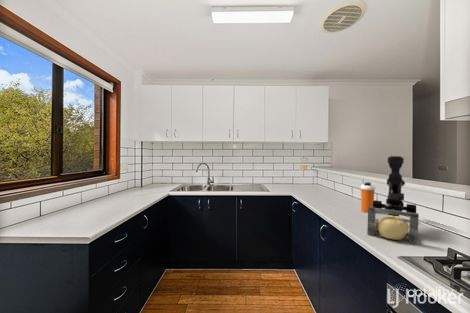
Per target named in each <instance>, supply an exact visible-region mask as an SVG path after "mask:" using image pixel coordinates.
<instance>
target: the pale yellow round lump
mask: <svg viewBox="0 0 470 313" xmlns="http://www.w3.org/2000/svg"><path fill="white" fill-rule="evenodd" d="M409 226H410V224H408V223H407V222H406V221H405V220H403V219H402V218H401V217H400V216H399V217H398V216H391V215H389V216H388V215H387V216H383V217H382V218H380V219H379V222H378V228H377V231H378V232H379V234H380V236H381V237H383V238H386V239H388V240H396V241H401V240H403V239H404V238H405V237H406V235H407V234H408V233H409Z"/></svg>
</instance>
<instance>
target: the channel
mask: <svg viewBox="0 0 470 313" xmlns="http://www.w3.org/2000/svg"><path fill="white" fill-rule="evenodd" d="M376 213H383V214H387V215H388V214H395V215H399V216H403V217H409V228H408V233H409V234H408V235H409V237H408V238H409V239H408V242H409V243H410V244H413V245H418V239H419V238H418V236H419V213H417V212H416V213H411V212H406V211H404V210H402V211H395V210H388V209H385V208H382V209H380V208H373V207H368V213H367V230H366V231H367V232H366V233H367V234H366V235H367V236H371V237H374V236H375V235H376V233H377V231H378V223H379V221H380V219H378V218H376Z"/></svg>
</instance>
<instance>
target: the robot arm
mask: <svg viewBox="0 0 470 313" xmlns="http://www.w3.org/2000/svg"><path fill="white" fill-rule="evenodd" d="M404 160H405V158H404V157H402V156H401V155H400V156H399V155H396V156H395V155H390V156H388V157H387V164H388V166H389V169H390V170H391V173H389V174H388V178H387V179H386V185H387V186H388V193H387V194H388V195H387V198H386V199H385V204H384V203H382V200H376V199H374V201H373V208H380V209H388V210H395V211H404V212H411V213H417V205H415V204H409V203H406V206H405V205H404V202H403V201H404V200H405V193H403V192H402V187H404V185H405V184H406V182H405V181H404V179H403V176H402V174H401V173H400V170H401V169H402V166H403V164H404ZM389 215H391V216H398V217H400V215H395V214H388V213H387V216H389Z"/></svg>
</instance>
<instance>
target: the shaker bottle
mask: <svg viewBox="0 0 470 313" xmlns="http://www.w3.org/2000/svg"><path fill="white" fill-rule="evenodd" d="M375 190H376V186H375V185H373V184H372V182H369V181H367V182H364V183H363V184H361V185H360V207H361V209H360V211H361V212H362V213H366V214H368V207H373V201H374V200H375Z"/></svg>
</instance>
